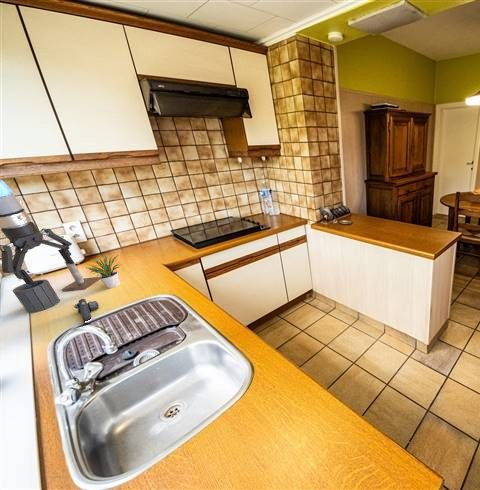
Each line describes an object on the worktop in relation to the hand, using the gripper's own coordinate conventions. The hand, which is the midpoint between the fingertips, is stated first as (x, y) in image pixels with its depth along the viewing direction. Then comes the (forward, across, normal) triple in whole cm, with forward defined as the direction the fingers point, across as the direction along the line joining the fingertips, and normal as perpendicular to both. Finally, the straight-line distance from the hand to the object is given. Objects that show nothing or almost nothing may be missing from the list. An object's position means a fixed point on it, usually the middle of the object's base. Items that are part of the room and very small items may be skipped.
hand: (52, 273), depth 104 cm
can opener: (+21, -1, -6) cm, 22 cm away
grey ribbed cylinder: (+24, +4, +25) cm, 34 cm away
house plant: (+25, +23, +8) cm, 34 cm away
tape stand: (+26, +21, +26) cm, 42 cm away
